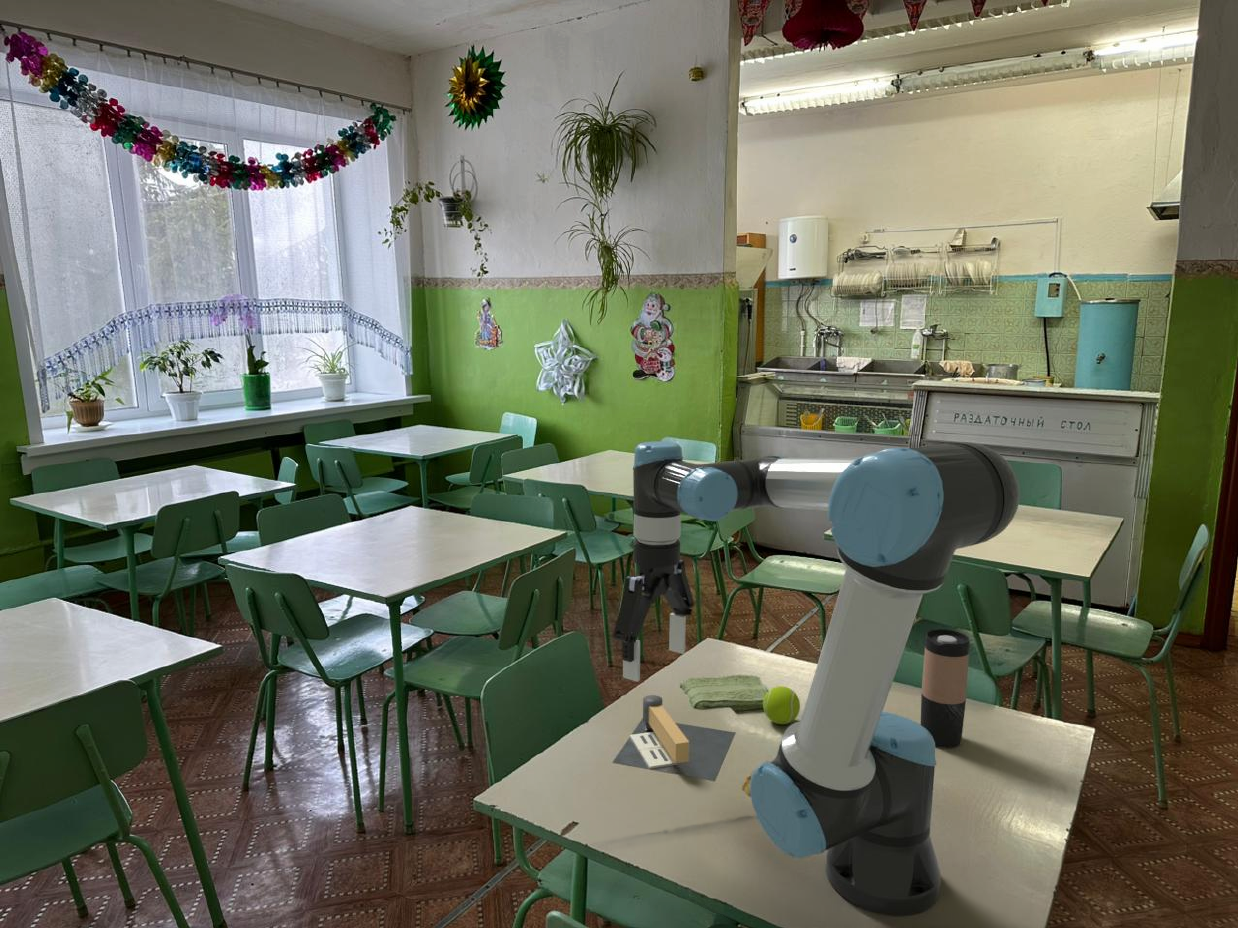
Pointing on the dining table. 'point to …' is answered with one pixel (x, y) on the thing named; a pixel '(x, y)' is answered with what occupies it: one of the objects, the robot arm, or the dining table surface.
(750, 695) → the washcloth
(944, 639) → the travel mug
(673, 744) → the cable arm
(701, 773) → the chassis plate
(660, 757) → the label
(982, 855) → the dining table surface
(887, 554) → the robot arm
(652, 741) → the label
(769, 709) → the tennis ball
